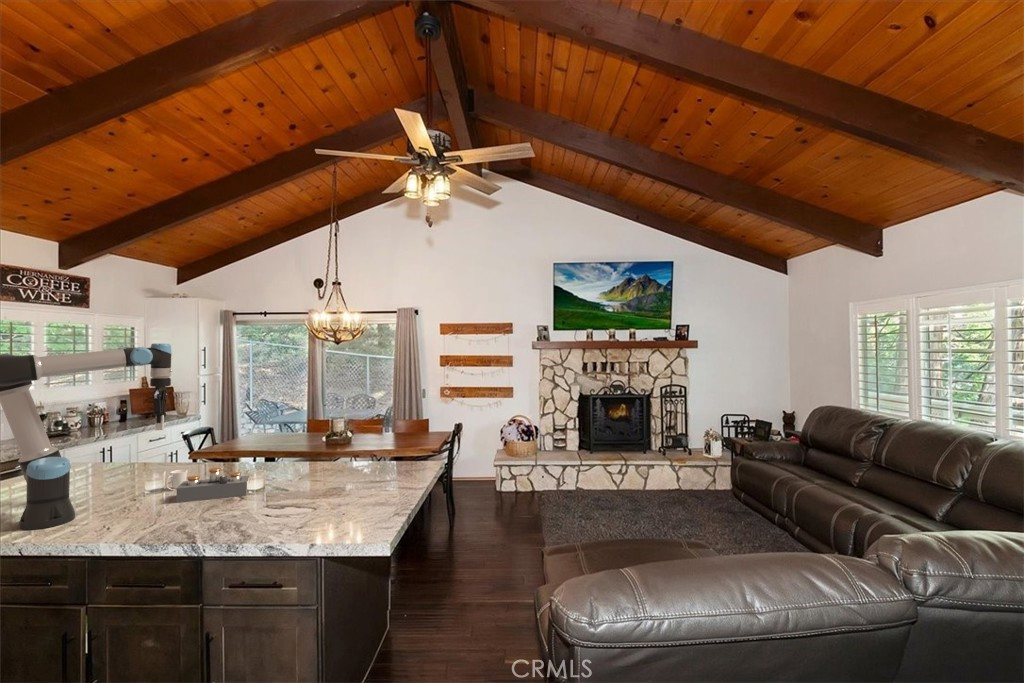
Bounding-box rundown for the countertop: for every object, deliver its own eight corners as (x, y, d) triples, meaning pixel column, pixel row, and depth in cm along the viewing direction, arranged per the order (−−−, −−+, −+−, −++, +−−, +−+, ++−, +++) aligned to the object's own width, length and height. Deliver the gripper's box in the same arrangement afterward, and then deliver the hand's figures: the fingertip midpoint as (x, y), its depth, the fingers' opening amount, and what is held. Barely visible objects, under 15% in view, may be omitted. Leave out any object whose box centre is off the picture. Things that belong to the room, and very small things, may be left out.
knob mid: (218, 485, 213) (218, 470, 213) (206, 485, 212) (207, 470, 212) (222, 482, 217) (222, 467, 217) (210, 482, 216) (211, 468, 216)
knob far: (239, 489, 216) (239, 474, 216) (227, 489, 215) (228, 475, 215) (242, 486, 220) (242, 472, 221) (231, 487, 219) (231, 472, 220)
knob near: (197, 493, 210) (197, 478, 210) (185, 494, 209) (185, 478, 209) (201, 490, 214) (201, 475, 214) (189, 491, 213) (190, 476, 213)
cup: (191, 487, 228) (191, 469, 228) (172, 493, 218) (172, 475, 218) (178, 486, 229) (179, 469, 229) (159, 492, 219) (159, 474, 219)
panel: (249, 488, 225) (249, 475, 225) (246, 495, 214) (246, 481, 214) (183, 494, 215) (183, 481, 215) (176, 502, 204) (176, 488, 204)
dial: (225, 483, 211) (226, 476, 211) (218, 484, 210) (218, 477, 210) (228, 482, 214) (228, 475, 214) (221, 482, 213) (221, 475, 213)
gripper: (165, 378, 213) (164, 431, 212) (175, 376, 225) (173, 427, 224) (145, 378, 210) (144, 432, 210) (155, 377, 222) (154, 428, 222)
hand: (159, 429), depth 217 cm, fingers closed
